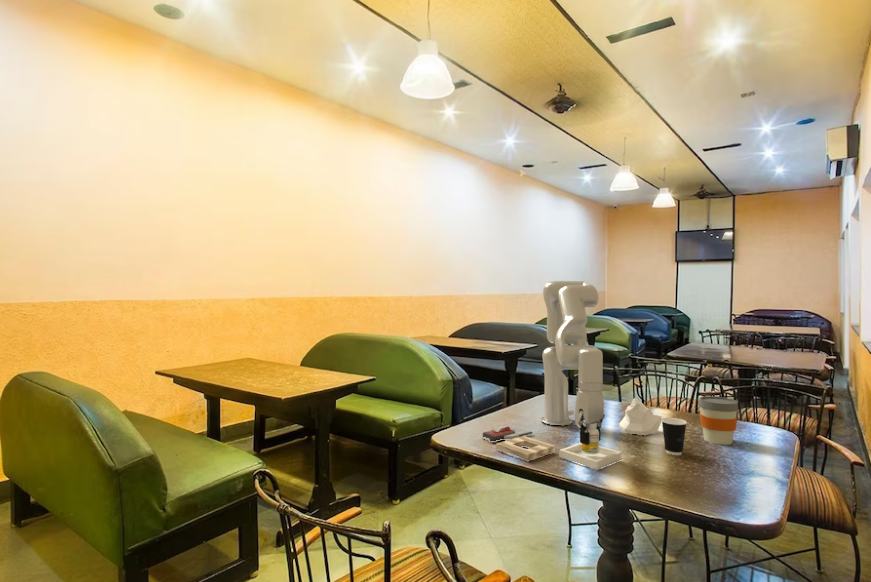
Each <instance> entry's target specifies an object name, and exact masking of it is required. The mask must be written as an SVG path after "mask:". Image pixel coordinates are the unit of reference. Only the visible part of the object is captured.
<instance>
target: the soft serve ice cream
mask: <svg viewBox="0 0 871 582" xmlns="http://www.w3.org/2000/svg"><path fill="white" fill-rule="evenodd" d="M624 413H625V415H624V416H623V419H621V421H620V422H619V424H618V426H619V429H620V428H621V429H622V430H623V431H624V432H625V433H630V434H629V435H632V434H637V435H636V436H642V435H644V436H647V435H654V434H655V433H656V434H658V431H659V429H660V427H661V424H662V421H661V419H662V415H657V414H654V412H653V410H651V409H650V408H649V407H646V406H645V404H644V403H642V402H641V401H640V400H639V398H637V397H634V398H633V399H632V401H631V404H630V405H628V406H627V407H626V409H625V410H624ZM621 429H620V430H621ZM622 430H621V431H622ZM623 431H622V432H623ZM624 432H623V433H624ZM625 433H624V434H625Z"/></svg>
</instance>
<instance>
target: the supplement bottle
mask: <svg viewBox="0 0 871 582" xmlns="http://www.w3.org/2000/svg"><path fill="white" fill-rule="evenodd" d="M583 425H584V426H586V424H584V423H583ZM596 427H597V423H596V422H592V423H590V424H589V430H588V432H589V445H586V444H583V443H582V452H584V453H586V454H598V453H599V446H600V441H599V431H598V429H596Z"/></svg>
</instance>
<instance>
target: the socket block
mask: <svg viewBox="0 0 871 582" xmlns="http://www.w3.org/2000/svg"><path fill="white" fill-rule="evenodd" d="M495 445H496V447H495V448H497V449H500V450H502V451H505V452H508V453H510V454H513V455H516V456H519V457H521V458H524V459H526V460H530V459H533V458H536V457H540V456H543V455H546V454H549V453H552V452H555V453H556V445H554V444H550V443H548V442H545V441H541V440H539V439H535V438H532V437H528V436H521V437H518V438H514V439H511V440H507V441H501V442H497V443H495ZM521 446H527V447H530V448H529V449H527V448H522V447H521Z"/></svg>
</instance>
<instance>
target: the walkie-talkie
mask: <svg viewBox="0 0 871 582" xmlns="http://www.w3.org/2000/svg"><path fill="white" fill-rule="evenodd" d="M532 434H533V431H528V432H524V433H521V434H520V433H516V431H515V430H514V429H511V428H510V426H509V425H501V426H497V427H496V428H492V429H491V430H489V431H485V432H482V438H483V437H486V438H489V439H490V441H496V440H500V439H514V438H518V437H521V436H524V435H527V436H528V435H532Z"/></svg>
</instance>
